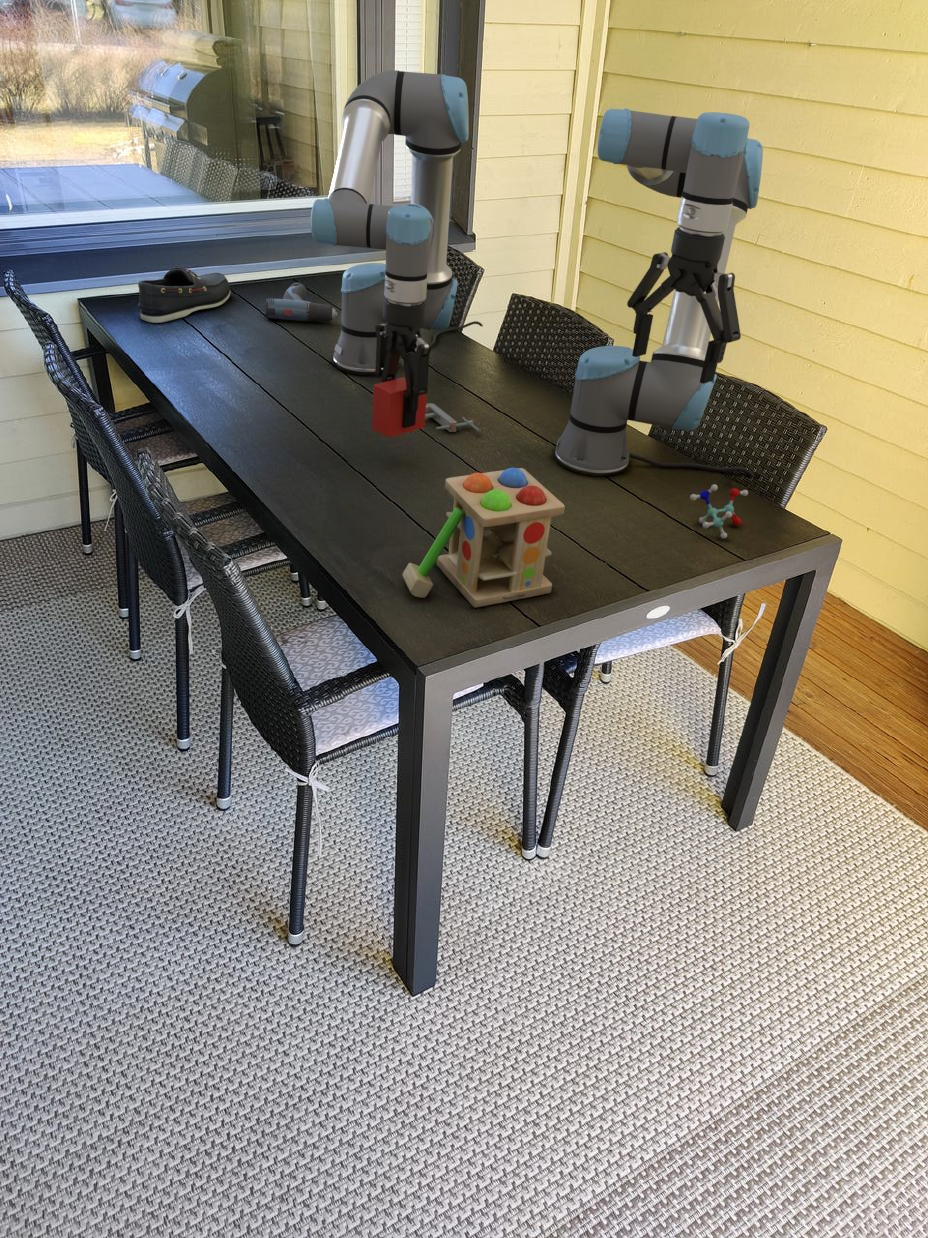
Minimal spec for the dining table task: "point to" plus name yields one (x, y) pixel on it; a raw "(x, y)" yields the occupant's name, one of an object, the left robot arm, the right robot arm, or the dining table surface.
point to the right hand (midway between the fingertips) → (671, 368)
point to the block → (394, 408)
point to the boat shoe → (180, 294)
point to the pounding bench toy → (492, 538)
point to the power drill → (298, 307)
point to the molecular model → (713, 512)
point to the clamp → (446, 419)
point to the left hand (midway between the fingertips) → (399, 420)
